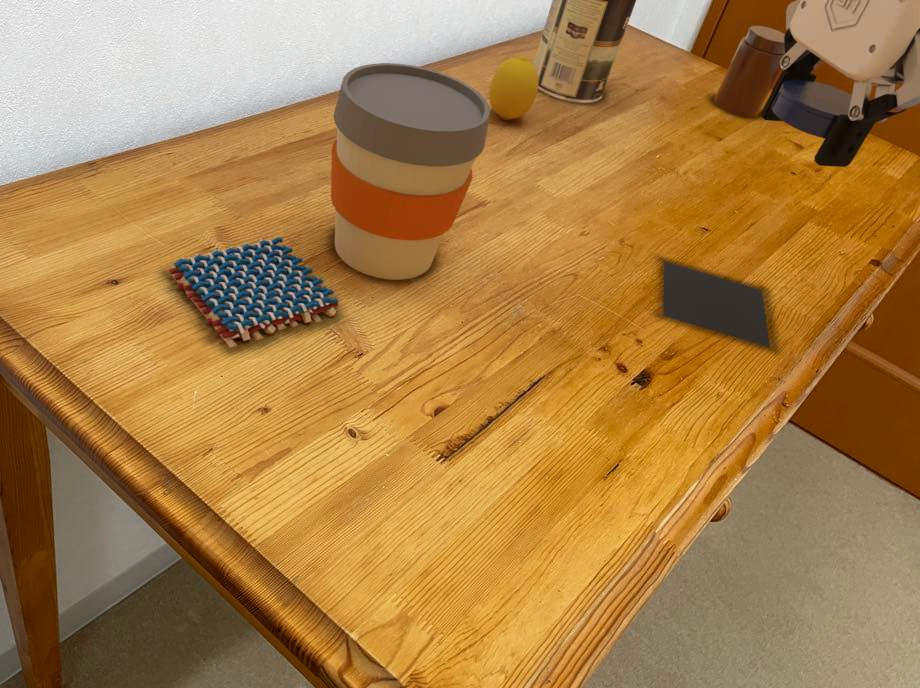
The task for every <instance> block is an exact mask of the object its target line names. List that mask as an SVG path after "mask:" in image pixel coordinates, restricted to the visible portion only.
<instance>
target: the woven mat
mask: <svg viewBox="0 0 920 688" xmlns="http://www.w3.org/2000/svg"><path fill="white" fill-rule="evenodd" d="M283 241H284V239H283V238H282V237H280V236H279V237H275V238H274V239H268V240H265V239H263V238H260V239H259V242H252V244H248V243H246V242H242V245H243V246H241V245H240V246H239V245H238V246H235V248H234V247H232V246H229V247H228V248H227V249H226V250H225V249H219V250H217V249H216V248H215V249H212V253H211V252H207V253H205V255H201V254H199V253H195V257H194V256H191V257H190V256H189V257H187V258H186V259H185V257H181V258H180V259H178V260H177V261H175V262H174V263H173V266H174V268H173V267H172V268H170V269H169V274H170V275H171V276H172V278H173V279H174V282H176V287H177V288H178V289H181V290H183V291H185V292H184V293H185V295H186V296H187V298H188V299H189V300H191V302H192V303H193V304H194V305H195V307H196V308H197V309H198V310H199V312H200V313H201V314H202V316H204V317H205V319H206V320H205V322H206V323H207V324H208V325H210V326H213V329H214V330H215V331H216V333H217V334H218V335H219V337H220V338H221V339H222V340H223V341H224V342H225V343H226V345H227V346H228V347H229V349H232V348H236V347H238V345H237V343H236V341H235V340H234V339H237V338H238V339H240V340H242V341H243V342H245V341H248V340H251V336H252V337H253V338H254V339H255V340H256V341H260V340H262V339H264V336H263V335H262V333H261V332H260V330H262V331H263V332H264V333H266V334H269V335H272V334H273V333H274V332H275V331H276V330H278V331H279V332H280V331H283V330H286V329H287V326H286V325H287V324H288V325H289V326H290V327H291V328H293V327H294V328H295V327H298V326H299V323H298V322H297V321H299V322H302V323H303V322H304V323H303V324H307V323H310V322H312V319H313V320H314V321H315V322H316V323H320V322H323V319H322V318H321V317H320V316H319V313H323V314H324V315H326V316H328V317H330V318H332V317H333V316H334V315H335V314H336V313H337V311H336V309H335V308H337V307H338V306H339V300H338V298H337V297H333V298H332V297H329V296H331V295H333V294H334V293H335V291H334V290H333V289H332V288H330V289H328V288H327V287H326V286H322V285H323V283H324V280H323V279H322V277H321V278H317V277H316V275H313V276H311V275H309V274H312V273H313V272H314V269H313V268H312V267H306V265H299V264H301V263H302V262H303V261H304V259H303V258H302V257H297V256H296V255H292V254H291V253H293V251H294V249H293V247H287V246H286V245H285V244H284V245H279V243H283ZM297 264H298V265H297Z"/></svg>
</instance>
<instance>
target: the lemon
mask: <svg viewBox="0 0 920 688" xmlns="http://www.w3.org/2000/svg"><path fill="white" fill-rule="evenodd" d="M538 90H539V89H538V73H537V70H536V68H535V67H534V63H532V61H530V60H528V57H527V56H525V55H519V56H516V57H515V56H514V57H511V58H509V59H507V60H505V61H503V62H502V63H501V64H500V66H499V67H498V68H497V70H496V71H495V73H494V75H493V77H492V80H491V82H490V87H489V102H490V106H491V108H492V111H494V112H495V113H496V114H497V115H499V117H500V119H502V120H503V121H510V120H515V119H519V118H521V117H523V116H524V115H525V114H527V112H529V111H530V109H531V108H532V107H533V105H534V103H535V100H536V98H537V94H538Z"/></svg>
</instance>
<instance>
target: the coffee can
mask: <svg viewBox="0 0 920 688" xmlns="http://www.w3.org/2000/svg"><path fill="white" fill-rule="evenodd" d="M636 3H637V0H552V1H551V4H550V7H549V10H548V15H547V18H546V21H545V24H544V28H543V31H542V35H541V38H540V41H539V44H538V49H537V50H536V51H537V52H536V55H535V59H534V61H533V65H534V67H535V68H536V70H537V73H538V90H539V91H541V92H542V93H545V94H547V95H549V96H552V97H554V98H557V99H560V100H563V101H567V102H573V103H580V104H590V103H595V102H598V101H600V100H601V99H602V98H603V94H604V90H605V88H606V86H607V82H608V80H609V76H610V74H611V71H612V68H613V66H614V63H615V60H616V58H617V55H618V52H619V49H620V47H621V43H622V41H623V38H624V36H625V32H626V30H627V27H628V24H629V22H630V19H631V16H632V13H633V11H634V8H635V6H636Z"/></svg>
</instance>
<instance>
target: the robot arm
mask: <svg viewBox="0 0 920 688" xmlns="http://www.w3.org/2000/svg"><path fill="white" fill-rule="evenodd" d="M785 22H786V23H785V30H786V32H785V33H784V34H785V36H784V47H785V55H784V56H783V57H782V59H781V61H780V67H781V70H782V71H780V74H779V75H778V77H777V79H776V81H775V83H774V85H773V87H772V88H773V89H771V91H770V93H769V95H768V97H767V99H766V101H765V103H764V106H763V107H762V109H761V111H760V113H759V114H760V115H759V116H760V117H761V118H762V119H763V120H764V121H772V122H783V121H782V120H781V119H779V118H778V117H777V116H776V115H775V114H774V113H773V111H772V108H771V106H772V104H773V102H774V100H775V98H776V96H777V94H778V92H779V90H780V88H781V86H782V84H783V83H784V82H785V81H787V80H791V79H803V80H810V81H815V82H816V79H817V74H815V73H813V72H814V71H815V70H816V69H818V67H820V65H822V64H823V63H824V62H825V63H826V64H828V65H829V66H830V67H831V68H833V69H835V70H836V71H838V72H839V73H841V74H842V75H844V76H845V77H847V78H849V79H851V80H854V81H853V86H852V92H851V95H852V96H851V101H850V106H849V111H848V115H844V114H840V115H839V116H838V117H837V119H836V120H835V122H834V124H833V126H832V127H831V129H830V131H829V133H828V134H827V136H826V138H824V140H823V142H822V143H821V145H820V147H819V148H818V150H817V151H816V154H815V156H814V160H813V161H814V163H815V164H816V165H818V166H819V167H837V168H838V167H839V168H846V167H848V166H849V165H850V164H851V163H852V162H853V160H854V158H855V157H856V155H857V154H858V152H859V150H860V149H861V147H862V145H863V143H864V142H865V141H866V139H867V138H868V136H869V134H870V132H871V131H872V129H873V127H874V126H875V124H876V123H878V124H879V123H884V122H886V121H887V120H888V119H890V118H891V117H894V116H897V115H899V114H901V113H904V112H906V110H907V109H908V108H912V107H914V106H916V105H919V104H920V0H794V1H792V2H790V3H789V4H788V5H787V7H786V10H785ZM897 85H901V86H900V87H899V88H897V89H896V86H897ZM874 86H875V92H874V97H873V99H870V97H871V94H872V88H873V87H874Z"/></svg>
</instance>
